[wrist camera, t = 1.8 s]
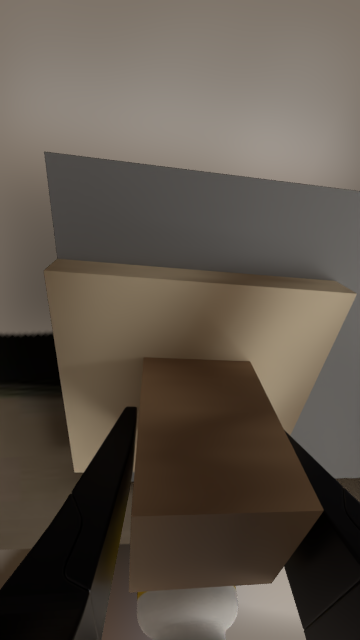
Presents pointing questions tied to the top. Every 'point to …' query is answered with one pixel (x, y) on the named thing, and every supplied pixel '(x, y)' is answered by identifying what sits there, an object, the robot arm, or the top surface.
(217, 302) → the lid
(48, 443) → the top surface
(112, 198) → the board
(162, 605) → the supplement bottle
